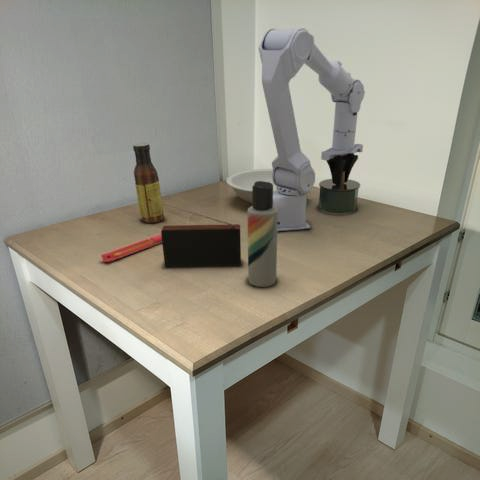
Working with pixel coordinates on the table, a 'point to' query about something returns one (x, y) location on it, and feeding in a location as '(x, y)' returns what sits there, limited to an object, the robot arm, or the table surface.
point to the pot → (338, 201)
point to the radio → (201, 244)
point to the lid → (343, 186)
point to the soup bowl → (249, 181)
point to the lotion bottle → (262, 236)
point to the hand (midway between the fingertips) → (339, 182)
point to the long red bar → (132, 248)
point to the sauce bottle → (147, 185)
